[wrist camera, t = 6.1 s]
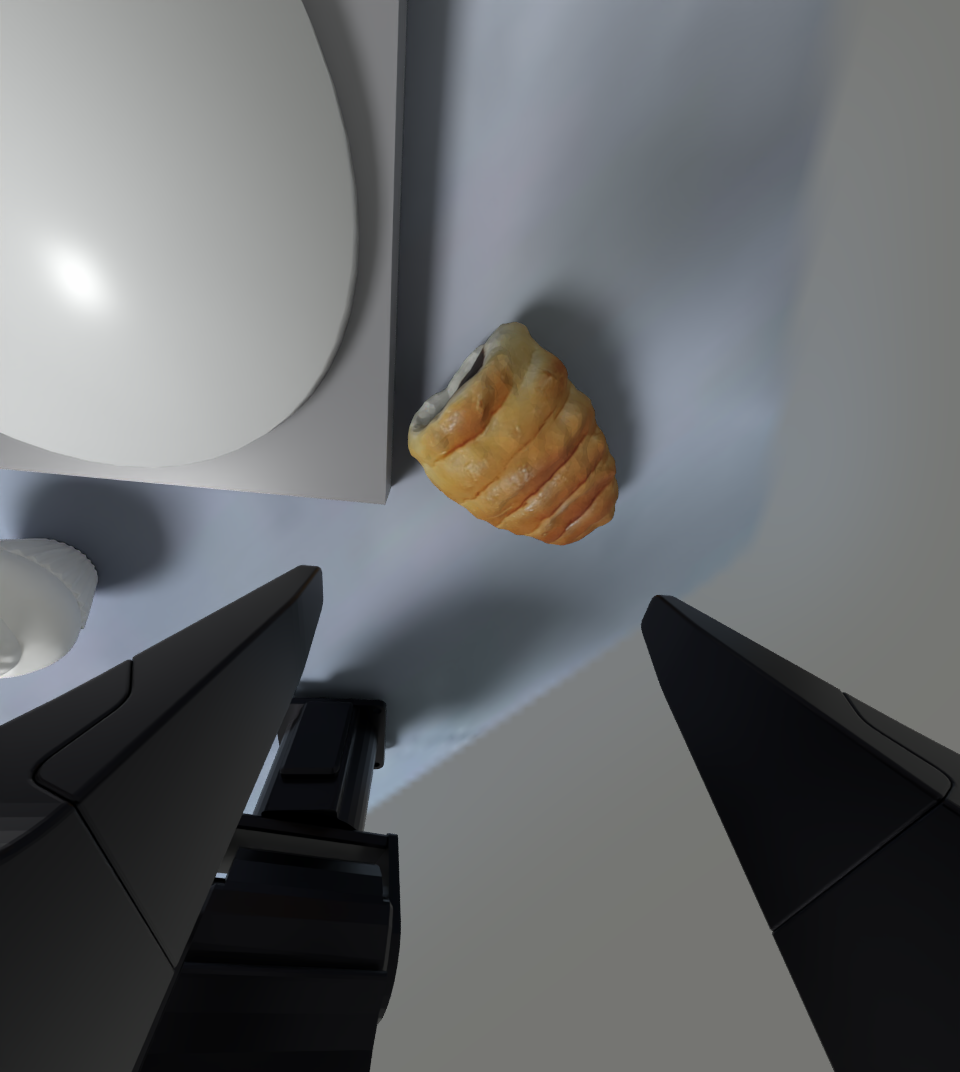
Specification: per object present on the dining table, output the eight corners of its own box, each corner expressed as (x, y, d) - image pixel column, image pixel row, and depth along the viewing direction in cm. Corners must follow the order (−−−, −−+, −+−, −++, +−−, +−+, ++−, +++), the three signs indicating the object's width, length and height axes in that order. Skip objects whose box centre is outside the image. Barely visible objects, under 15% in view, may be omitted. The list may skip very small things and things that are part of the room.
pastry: (638, 464, 18) (686, 494, 15) (536, 559, 20) (558, 604, 17) (500, 306, 14) (523, 297, 11) (390, 440, 16) (381, 468, 13)
